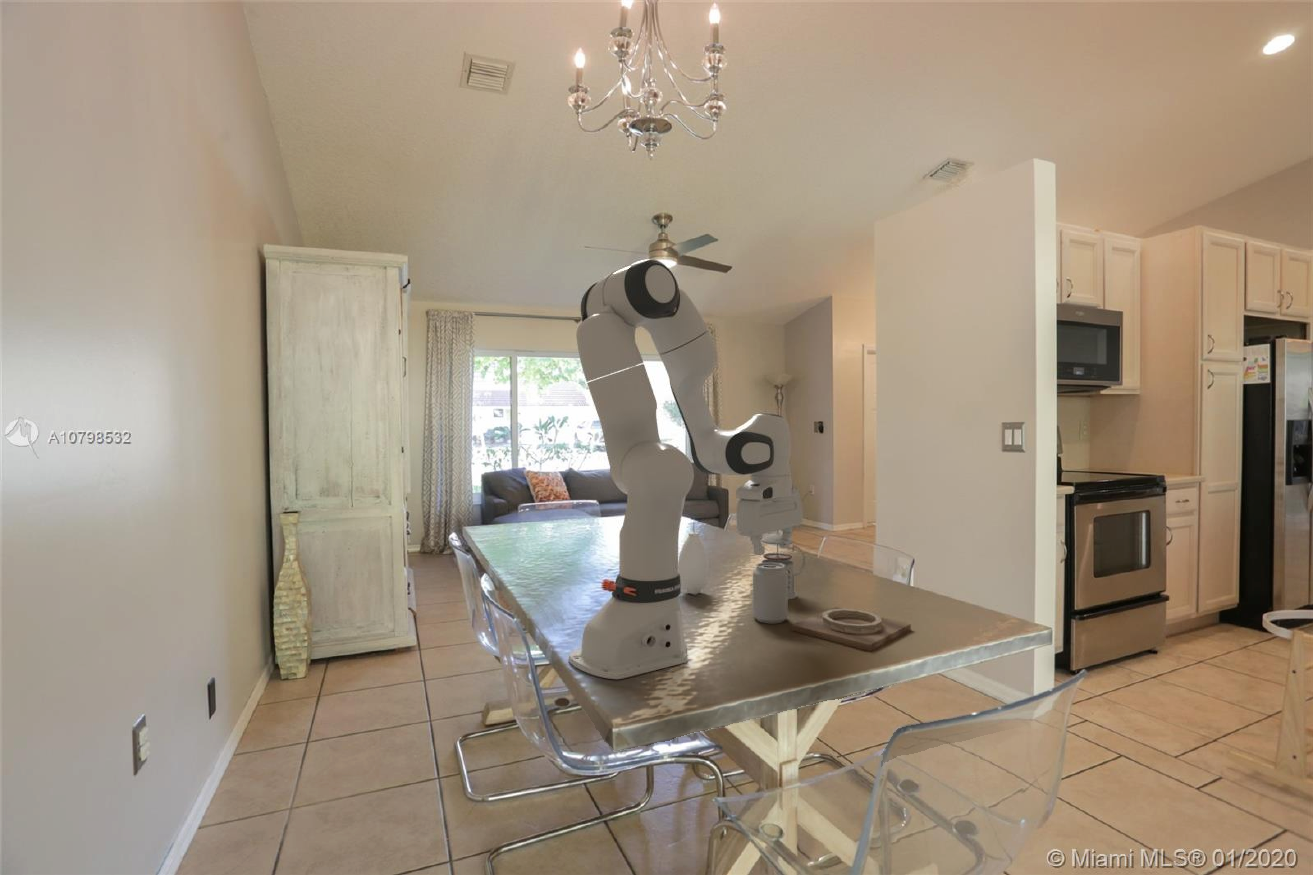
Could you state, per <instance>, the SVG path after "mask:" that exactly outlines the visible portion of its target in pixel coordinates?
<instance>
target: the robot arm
mask: <svg viewBox="0 0 1313 875" xmlns="http://www.w3.org/2000/svg"><path fill="white" fill-rule="evenodd" d="M580 316H581V323H580V324H579V325H578V327H577V329H576V337H575V338H576V345H577V350H578V355H579V358H580V359H579V362H580V364H581V368H582V372H583V375H584V379H585V381H586V385H587V387H588V390H589V392H590V396H591V398H592V402H593V405H594V408H595V410H596V414H597V416H598V420H599V422H600V426H601V431H602V436H603V442H604V446H605V452H606V456H607V460H608V463H609V464H608V465H609V474H610V477H611V479H612V480H613V483H614V484H615V485H616V488H618V490H619V491H620V492H622V493H623V494H625V495H627V500H626V508H625V514H624V518H623V523H622V526H621V529H620V531H619V536H618V538H619V542H618V543H619V548H618V549H619V553H618V554H619V555H618V556H619V560H618V561H619V564H618V566H619V569H618V570H619V572H618V574H617V576H616V578H615V581H614V580H610V579H608V578H605V579H603V580H602V582H601V585H600V586H601V587H600V588H601V589H602V590H603V591H608V592H610V593H611V597H610V599H608V600H607V602H606V603H605V604H604V605H603V606H602V607H601V608H600V609H599V611H598V612H597V613H596V614H595V615H594V616H593V617H592V618H591V619H590V620H589V621H588V622H587V623H586V625H585V626H584V630H583V633H582V639H581V641H582V642H581V647H580V648H577V649H575V650H574V651H572V652H569V654H568V661H569V662H570V664H571V665H572V666H573V667H575V668H576V669H578V670H580V671H583V672H584V673H587V674H589V675H593V676H595V677H599V678H604V679H609V680H610V679H611V680H621V679H622V680H623V679H626V678H630V677H633V676H638V675H641V674H645V673H650V672H654V671H656V670H657V671H658V670H661V669H665V668H670V667H672V666H676V665H681V664H685V663H688V660H689V658H688V654H687V651H688V648H687V644H686V641H685V636H684V635H685V634H684V628H683V619H682V613H681V607H680V601H679V600H680V598H679V596H680V595H681V593H682V592H681V589H682V588H681V586H682V584H681V582H680V574H679V573H678V562H679V539H680V538H679V536H680V535H679V534H680V527H681V522H682V515H683V513H684V512H683V511H684V507H685V503H686V499H687V498H686V497H687V495H688V494H689V492H690V490H691V489H692V487H693V484H694V478H695V472H694V467H693V464H692V461H693V463H694V465H695V467H696V468H697V469H698V470H699V471H700V472H702V473H704V474H706V475H710V476H711V475H713V476H714V475H728V476H746V475H747V476H748V475H750V479H749V480H747V481H746V482H745V483H744V484H742V485H741V486H740V487H738V488H736V491H735V497H736V499H738V502H737V503H736V504H737V505H736V530H737V532H738V534H739V535H740V536H743V537H744V536H745V537H749V539H750V541H751V544H752V547H753V554H754V555H756V556H763V555H764V554H766V552H765V550H766V546H764V545H763V543H762V540H761V539H762V538H763V535H764V534H769V533H773V532H777V531H778V532H779V531H780V530H781V532H782V533H781V534H782V538H781V539H780V540H779V543H780V544H779V545H778V547H779V548H780V549H788V548H789V547H791V544H790V538H792V535H793V531H794V530H793V527H799V526H801V525H802V524H803V521H804V512H803V510H804V509H803V503H802V498H801V495H800V493H799V489H798V488H797V487H796V485H794V484H792V483H793V482H792V470H791V466H790V463H791V462H790V461H791V458H792V457H791V456H792V441H791V440H792V439H791V431H790V427H789V422H788V421H787V419H786V418H785V417H784V416H782V415H779V414H775V413H766V412H763V413H762V412H761V413H758V412H757V413H755V414H753V415H752V416H751V418H750V419H749V420H748V421H746V422H745V423H743V424H741V425H739V426H737V427H735V428H734V429H722V428H721V427H719V426H718V425H717V424H716V423H715V421H714V418H713V416H712V413H711V412H710V409H709V406H708V403H707V400H706V397H705V395H704V386H705V383H706V381H707V380H708V379H709V378H710V376H711V375H712V374H713V373H714V370H715V369H716V366H717V362H718V357H719V356H718V350H717V348H716V344H715V342H714V340H713V337H712V335H711V332H710V331H709V329H708V327H707V324H706V322H705V321H704V319H703V317H702V315H701V313H700V312H699V310H698V308H697V307H696V305H695V304H694V302H693V301H692V299H691V298H690V297H689V295H688V294H687V293H686V292H685V291H684V290H683V289H681V288H679V284H678V281H677V280H676V277H675V275H674V273H673V272H672V271H671V269H670V268H668V267H667V266H666V265H665V263H663V262H661V261H659V260H657V259H642V260H639V261H636V262H634V263H632V264H630V265H629V266H626V267H624V268H621V269H618V270H615V271H612V272H611V273H610V274H608V275H606V276H605V277H603V278H601V279H600V280H599V281H598V282H595V283H593V284H592V285H591V286H590V287H589V288H588V289H587V290H586V291H585V293H584V294H583V296H582V298H581V303H580ZM640 327H642V328H643V329H644V330H646V331H647V333H649V334H650V336H651V340H652V342H653V344H654V346H655V349H656V351H657V353H658V355H659V357H660V360H661V361H662V364H663V366H664V367H665V368H664V369H665V371H666V374H667V376H668V379H669V385H670V389H671V392H672V396H673V399H674V401H675V403H676V406H677V410H678V411H679V414H680V417H681V419H682V422H683V424H684V426H685V429H686V432H687V435H688V438H689V444H690V445H689V446H690V453H691V458H692V461H691V460H690V458H689V457H688V456H687V455H686V454H685V453H684V452H682V450H681V449H679V448H677V447H676V446H674V445H672V444H670V443H665V442H662V441H661V438H660V434H659V427H658V419H657V409H658V403H657V400H656V395H655V392H654V390H653V387H652V384H651V381H650V378H649V375H648V372H647V369H646V366H645V364H644V361H643V360H644V359H643V357H642V354H641V352H640V349H639V348H638V345H637V343H636V329H637V328H640Z"/></svg>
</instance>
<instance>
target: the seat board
mask: <svg viewBox="0 0 1313 875" xmlns="http://www.w3.org/2000/svg"><path fill="white" fill-rule="evenodd" d="M911 629H912V624H911V623H908V622H905V621H901V620H894V619H892V618H886V617H883V616H879V615H878V614H875V613H873V612H870V611H865V610H860V609H852V608H851V609H850V608H843V607H838V606H836V607H833V608H830V609H828V610H825V611H823V612H821V613H818V614H815V615H813V616H810V617H808V618H805V619H802V620H800V621H797V622H795V623H792V624H791V631H793V632H797V633H801V634H805V635H808V636H811V637H816V638H820V639H822V640H827V641H830V642H834V643H838V644H842V645H845V646H849V647H853V648H857V649H859V650H863V651H867V652H871V651H873V650H875V649H878V648H879V647H881V646H883V645H885V644H887V643H888V642H890V641H892V640H894V639H896V638H898V637H900V636H901V635H903V634H905V633H907V632H909V631H911Z"/></svg>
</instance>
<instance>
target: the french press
mask: <svg viewBox="0 0 1313 875" xmlns="http://www.w3.org/2000/svg"><path fill="white" fill-rule="evenodd" d="M781 538H782V533H780V532H779V530H778V531H776V533H771V534H767V535H765V536H764V537H762V539H760V540H761V543H762V544H768V545H775V546H776V552H772V553H771V552H769V553H764V554H763V555H762V558H764V559H763V560H762V561H761V563H779V564H782V565H784V566H785V568H784V569H785V570H786V571H787V573H788V600H791V599H795V598H797V596H798V593H796V592H795V589H794V588H795V577H796V576H798V575H800V574H801V573H802V572H803V571H804V569H805V565H806V556H805V554H804V552H803V550H802V549H801V548H800V547H799V546H797V545H795V544H793V543H794V541H795V539H793V538H792V537H791V538H790V545H791V544H793V545H792V547H791V548H792V552H795V548H796V549H797V550H799V552H801V554H802V557H803V559H802V560H803V563H802V566H801V568H800V569H799V570H798V571H796V572H794V562H793V561H791V559H792V558H793V556H792V555H791V554H788V553H782V552H781V553H779V544H780V543H779V540H780V539H781Z"/></svg>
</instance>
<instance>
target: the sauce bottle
mask: <svg viewBox="0 0 1313 875" xmlns="http://www.w3.org/2000/svg"><path fill="white" fill-rule="evenodd" d="M707 552H708V551H707V548H706V545H705V544H704V542H703V539H701V537H700V534H699V532H696V531H695V522H693V523H692V531H691V532H689V533H688V536H687V537H686V539H685V541H684V543H683V544H682V547H681V550H680V552H679V555H678V573H679V574H680V583H681V586H682V588H683V589H684V590H686V592H687V593H689V594H690V595H698V594H699V593H701V591H702V590H704V589H705V588H706V586H707V584H708V581H709V576H710V561H709V555H708V553H707Z"/></svg>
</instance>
